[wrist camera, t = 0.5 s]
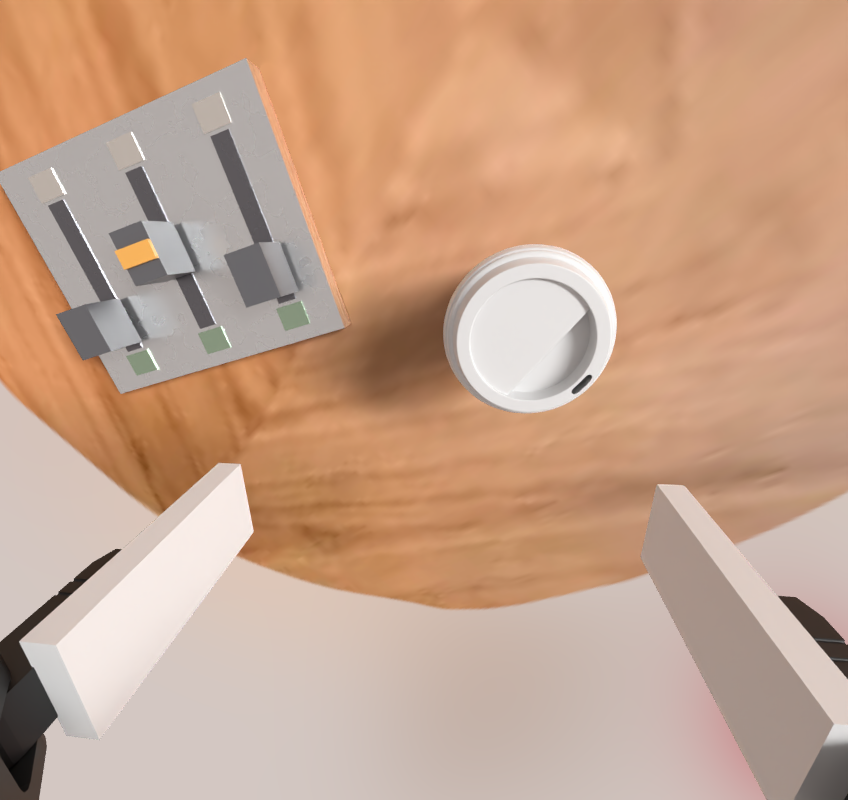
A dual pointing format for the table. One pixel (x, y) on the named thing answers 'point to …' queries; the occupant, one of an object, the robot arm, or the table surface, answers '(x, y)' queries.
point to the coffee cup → (530, 328)
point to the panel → (182, 225)
